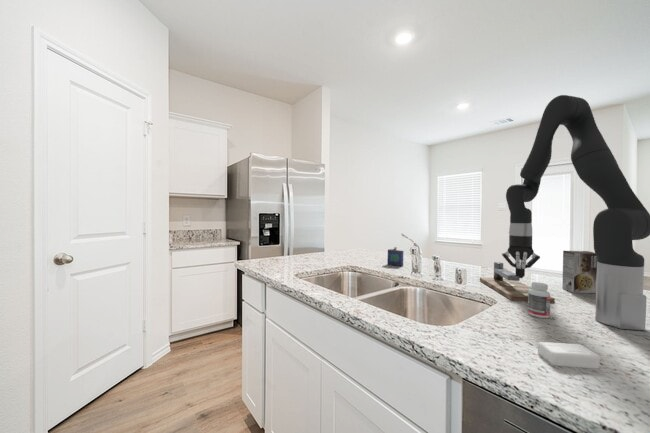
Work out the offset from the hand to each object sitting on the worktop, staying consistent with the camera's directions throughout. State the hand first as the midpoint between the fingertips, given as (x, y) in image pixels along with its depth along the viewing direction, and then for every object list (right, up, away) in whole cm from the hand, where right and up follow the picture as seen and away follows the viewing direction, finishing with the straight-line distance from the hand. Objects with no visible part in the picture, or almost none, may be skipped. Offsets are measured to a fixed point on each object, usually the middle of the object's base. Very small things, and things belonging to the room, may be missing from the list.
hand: (520, 277), depth 111 cm
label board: (-2, -6, +2) cm, 6 cm away
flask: (-37, -4, +50) cm, 63 cm away
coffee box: (+25, -6, +2) cm, 26 cm away
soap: (-26, -7, -51) cm, 58 cm away
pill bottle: (-12, -6, -25) cm, 29 cm away
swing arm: (-2, -4, +6) cm, 8 cm away
